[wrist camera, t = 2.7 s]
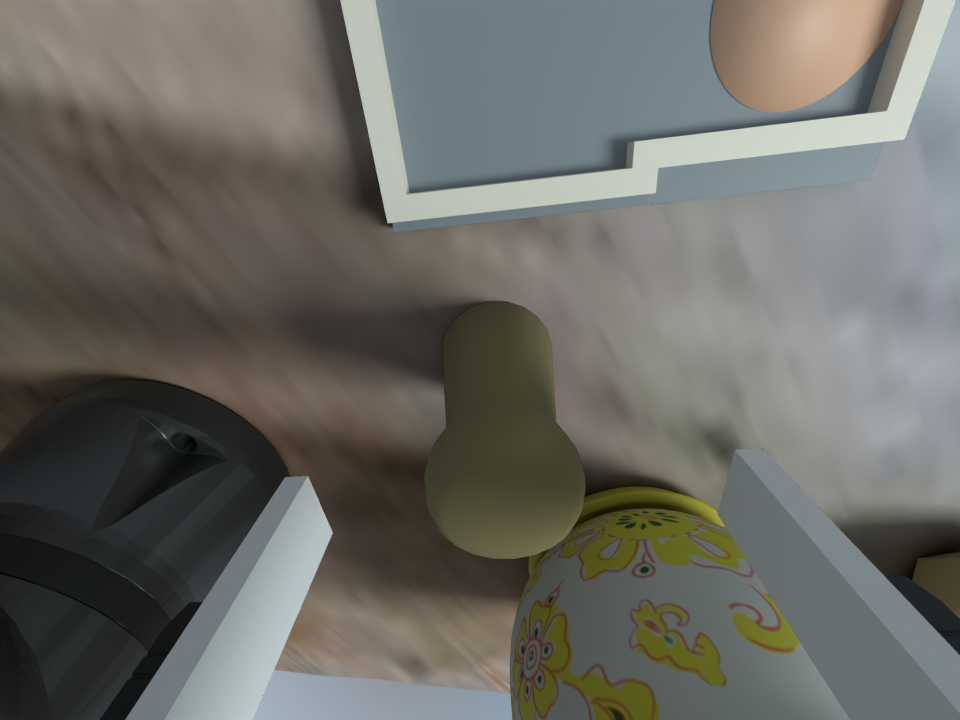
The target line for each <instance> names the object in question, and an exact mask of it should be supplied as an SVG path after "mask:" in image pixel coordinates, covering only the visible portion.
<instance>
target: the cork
mask: <svg viewBox="0 0 960 720" xmlns="http://www.w3.org/2000/svg"><path fill="white" fill-rule="evenodd" d="M442 354H443V373H444V393H445V412H446V429H445V430H444V431H443V432H442V433H441V435H440V436H439V437H438V439H437V440H436V442H435V444H434V445H433V448H432V451H431V454H430V457H429V460H428V463H427V466H426V471H425V475H424V482H425V491H426V500H427V508H428V510H429V512H430V514H431V516H432V517H433V519H434V521H435V523H436V524H437V526H438V528H439V530H440V531H441V533H442V535H443V536H444V537H446V538H447V539H448V540H449V541H450V542H451V543H453V544H454V545H455V546H456V547H459V548H461V549H463V550H465V551H467V552H469V553H471V554H474V555H478V556H483V557H488V558H493V559H516V558H522V557H527V556H532V555H536V554H538V553H540V552H543V551H545V550H547V549H550V548H552V547H554V546H555V545H556V544H558V543H559V542H560V541H561V540H563V539H564V538H565V537H566V536H568V534H569V533H570V531H571V530H572V528H573V526H574V525H575V523H576V522H577V520H578V518H579V515H580V513H581V511H582V507H583V502H584V496H585V475H584V472H583V468H582V464H581V461H580V458H579V455H578V452H577V449H576V447H575V445H574V444H573V443H572V441H571V440H570V439H569V437H568V436H567V435H566V434H565V432H564V431H563V430H562V429H561V427H560V426H559V425H558V424H557V422H556V410H555V393H554V376H553V360H552V345H551V341H550V338H549V334H548V330H547V329H546V328H545V326H544V325H543V323H542V322H541V321H540V319H539V318H538V317H537V316H536V315H534V314H533V313H532V312H530V311H529V310H527V309H526V308H524V307H522V306H519V305H516V304H512V303H509V302H486V303H483V304H480V305H476V306H473V307H470V308H469V309H468V310H466V311H465V312H463V313H462V314H460V315H459V316H458V317H456V319H455V320H454V321H453V323H452V324H451V325H450V327H449V328H448V330H447V331H446V334H445V338H444V341H443V344H442Z"/></svg>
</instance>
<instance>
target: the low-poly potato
mask: <svg viewBox="0 0 960 720" xmlns="http://www.w3.org/2000/svg"><path fill="white" fill-rule="evenodd" d="M912 581H913V582H915V583H916V584H918V585H919V586H920V587H922V588H923V589H925V590H926V591H928V592H929V593H931V594H932V595H934V596H935V597H937V598H938V599H940V600H941V601H942V602H943V603H944V604H945V605H946V606H947V607H948V608H949V609H950V610H951V611H952V612H953V613H954V614H955V615H956V616H957V617H958V618H959V619H960V552H955V553H949V554H943V555H937V556H931V557H924V558H918V560H917V564H916V567H915V571H914V575H913V579H912Z"/></svg>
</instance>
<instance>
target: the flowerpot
mask: <svg viewBox="0 0 960 720" xmlns="http://www.w3.org/2000/svg"><path fill="white" fill-rule="evenodd" d="M717 514H718V512H717V511H716V510H715V509H713V508H712V507H710V506H709V505H707V504H706V503H704V502H702V501H700V500H697V499H695V498H692V497H689V496H686V495H682V494H679V493H675V492H672V491H669V490H665V489H660V488H654V487H641V486H634V487H621V488H614V489H609V490H605V491H601V492H598V493H595V494H592V495H589V496H587V497H584V502H583V507H582V511H581V513H580V515H579V518H578V520H577V522H576V523H575V525H574V526H573V528H572V530H571V531H570V533H569V534H568V536H566V537H565V538H564V539H563V540H561V541H560V542H559V543H558V544H556V545H555V546H554V547H552V548H550V549H547V550H545V551H543V552H540V553H538V554H536V555H532V556H529V562H528V568H529V574H530V578H529V580H528V582H527V584H526V586H525V589H524V591H523V594H522V596H521V599H520V602H519V605H518V608H517V612H516V617H515V621H514V626H513V632H512V640H511V651H510V691H511V706H512V719H513V720H850V719H849V717H848V716H847V714H846V713H845V711H844V710H843V708H842V707H841V705H840V704H839V702H838V700H837V699H836V697H835V696H834V694H833V693H832V691H831V690H830V688H829V686H828V685H827V683H826V682H825V680H824V679H823V677H822V676H821V674H820V673H819V671H818V669H817V668H816V666H815V665H814V663H813V662H812V660H811V659H810V657H809V656H808V654H807V652H806V651H805V649H804V648H803V646H802V645H801V643H800V642H799V640H798V638H797V637H796V635H795V634H794V632H793V631H792V629H791V628H790V626H789V625H788V623H787V621H786V620H785V618H784V617H783V615H782V614H781V612H780V611H779V609H778V607H777V606H776V604H775V603H774V601H773V600H772V598H771V597H770V595H769V594H768V592H767V590H766V589H765V587H764V586H763V584H762V583H761V581H760V580H759V578H758V576H757V575H756V573H755V572H754V570H753V569H752V567H751V566H750V564H749V563H748V561H747V559H746V558H745V556H744V555H743V553H742V552H741V550H740V549H739V547H738V546H737V544H736V542H735V541H734V539H733V538H732V536H731V535H730V533H729V532H728V530H727V528H726V527H725V525H724V524H723V522H722V521H721V519H720V518H719V516H718V515H717Z"/></svg>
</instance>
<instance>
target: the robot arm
mask: <svg viewBox="0 0 960 720" xmlns="http://www.w3.org/2000/svg"><path fill="white" fill-rule="evenodd" d="M717 515H718V516H719V518H720V519H721V521H722V522H723V524H724V525H725V527H726V528H727V530H728V532H729V533H730V535H731V536H732V538H733V539H734V541H735V542H736V544H737V546H738V547H739V549H740V550H741V552H742V553H743V555H744V556H745V558H746V559H747V561H748V563H749V564H750V566H751V567H752V569H753V570H754V572H755V573H756V575H757V576H758V578H759V580H760V581H761V583H762V584H763V586H764V587H765V589H766V590H767V592H768V594H769V595H770V597H771V598H772V600H773V601H774V603H775V604H776V606H777V607H778V609H779V611H780V612H781V614H782V615H783V617H784V618H785V620H786V621H787V623H788V625H789V626H790V628H791V629H792V631H793V632H794V634H795V635H796V637H797V638H798V640H799V642H800V643H801V645H802V646H803V648H804V649H805V651H806V652H807V654H808V656H809V657H810V659H811V660H812V662H813V663H814V665H815V666H816V668H817V669H818V671H819V673H820V674H821V676H822V677H823V679H824V680H825V682H826V683H827V685H828V686H829V688H830V690H831V691H832V693H833V694H834V696H835V697H836V699H837V700H838V702H839V704H840V705H841V707H842V708H843V710H844V711H845V713H846V714H847V716H848V717H849V719H850V720H960V619H959V618H958V617H957V616H956V615H955V614H954V613H953V612H952V611H951V610H950V609H949V608H948V607H947V606H946V605H945V604H944V603H943V602H942V601H941V600H940V599H938V598H937V597H935V596H934V595H932V594H931V593H929V592H928V591H926V590H925V589H923V588H922V587H920V586H919V585H918V584H916V583H915V582H913V581H912V580H910V579H909V578H907V577H906V576H892V577H885V576H884V575H883V574H882V573H881V572H880V571H879V570H878V569H877V568H876V567H875V566H874V565H873V564H872V563H871V562H870V561H869V560H868V558H867V557H866V556H865V555H864V554H863V553H862V552H861V551H860V550H859V549H858V548H857V547H856V546H855V545H854V544H853V543H852V542H851V541H850V540H849V539H848V538H847V536H846V535H845V534H844V533H843V532H842V531H841V530H840V529H839V528H838V527H837V526H836V525H835V524H834V523H833V522H832V521H831V520H830V519H829V518H828V517H827V516H826V514H825V513H824V512H823V511H822V510H821V509H820V508H819V507H818V506H817V505H816V504H815V503H814V502H813V501H812V500H811V499H810V498H809V497H808V496H807V495H806V493H805V492H804V491H803V490H802V489H801V488H800V487H799V486H798V485H797V484H796V483H795V482H794V481H793V480H792V479H791V478H790V477H789V476H788V475H787V474H786V473H785V471H784V470H783V469H782V468H781V467H780V466H779V465H778V464H777V463H776V462H775V461H774V460H773V459H772V458H771V457H770V456H769V455H768V454H767V453H766V452H765V451H764V449H763V448H761V449H745V450H735V453H734V456H733V460H732V463H731V467H730V471H729V474H728V478H727V482H726V485H725V489H724V492H723V496H722V500H721V503H720V507H719V510H718V514H717ZM332 534H333V532H332V530H331V528H330V525H329V523H328V521H327V518H326V516H325V514H324V512H323V509H322V507H321V505H320V502H319V500H318V498H317V496H316V493H315V491H314V489H313V486H312V484H311V482H310V480H309V477H308V476H298V477H290V475H289V472H288V470H287V468H286V466H285V464H284V462H283V461H282V459H281V457H280V456H279V454H278V453H277V452H276V450H275V449H274V448H273V446H272V445H271V444H270V443H269V442H268V441H267V440H266V439H265V438H264V437H263V436H262V435H261V434H260V433H259V432H258V431H257V430H256V429H255V428H254V427H252V426H251V425H250V424H249V423H247V422H246V421H245V420H243V419H242V418H241V417H239V416H238V415H236V414H235V413H233V412H232V411H230V410H228V409H227V408H225V407H223V406H221V405H219V404H218V403H216V402H214V401H212V400H209V399H207V398H205V397H203V396H200V395H198V394H196V393H193V392H190V391H187V390H184V389H181V388H178V387H174V386H170V385H166V384H161V383H156V382H149V381H140V380H115V381H107V382H102V383H97V384H94V385H91V386H88V387H85V388H83V389H81V390H79V391H77V392H75V393H74V394H72V395H70V396H68V397H67V398H65V399H63V400H61V401H59V402H58V403H56V404H54V405H52V406H51V407H49V408H47V409H45V410H44V411H42V412H41V413H39V414H38V415H37V416H35V417H34V418H33V419H31V420H30V421H29V422H28V423H27V424H26V425H25V426H24V427H23V428H22V429H21V430H20V432H19V433H18V434H17V435H16V436H15V437H14V438H13V439H12V440H11V441H10V442H9V443H8V444H7V445H6V447H5V448H4V449H3V450H2V451H1V452H0V720H253V717H254V715H255V713H256V710H257V708H258V706H259V703H260V701H261V699H262V696H263V694H264V692H265V689H266V687H267V685H268V683H269V680H270V678H271V676H272V673H273V671H274V669H275V666H276V664H277V662H278V659H279V657H280V655H281V652H282V650H283V648H284V645H285V643H286V641H287V638H288V636H289V634H290V631H291V629H292V627H293V624H294V622H295V620H296V617H297V615H298V613H299V610H300V608H301V606H302V603H303V601H304V599H305V597H306V594H307V592H308V590H309V587H310V585H311V583H312V580H313V578H314V576H315V573H316V571H317V569H318V566H319V564H320V562H321V559H322V557H323V555H324V552H325V550H326V548H327V545H328V543H329V541H330V538H331V536H332Z"/></svg>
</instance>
